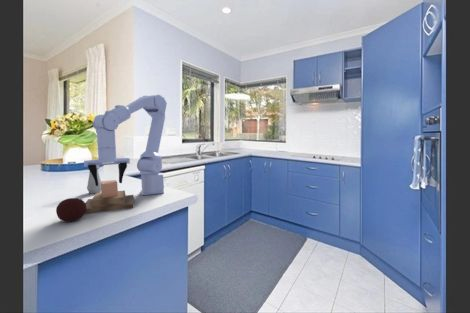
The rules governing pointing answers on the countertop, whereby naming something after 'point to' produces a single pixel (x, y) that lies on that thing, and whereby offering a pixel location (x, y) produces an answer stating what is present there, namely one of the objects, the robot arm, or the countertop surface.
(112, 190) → the cube
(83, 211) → the potato
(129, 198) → the base
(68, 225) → the countertop surface
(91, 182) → the salt shaker
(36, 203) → the countertop surface
